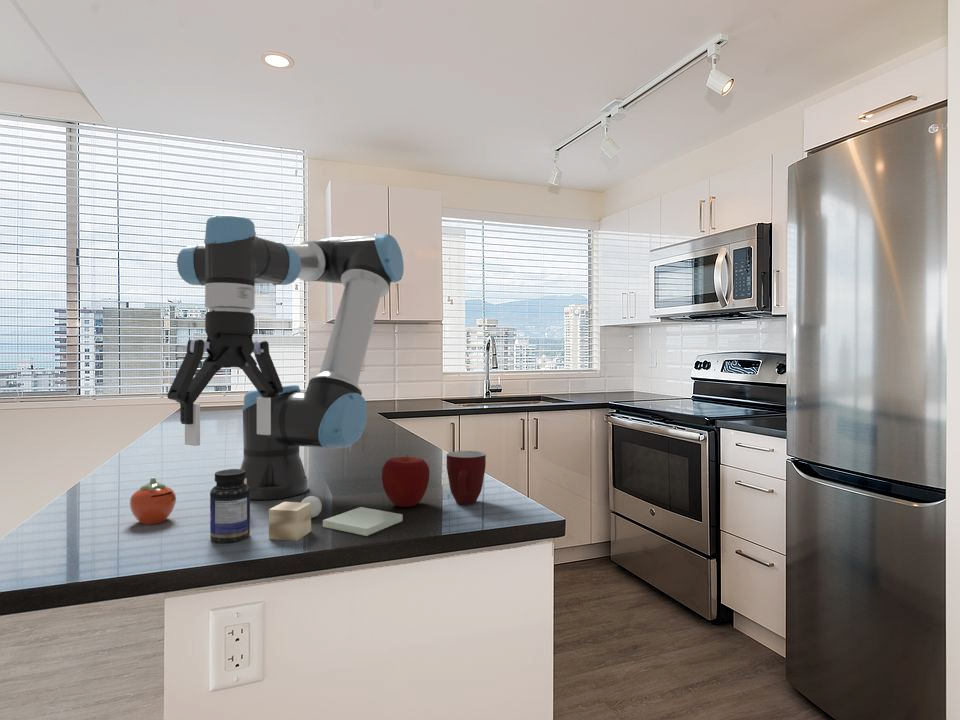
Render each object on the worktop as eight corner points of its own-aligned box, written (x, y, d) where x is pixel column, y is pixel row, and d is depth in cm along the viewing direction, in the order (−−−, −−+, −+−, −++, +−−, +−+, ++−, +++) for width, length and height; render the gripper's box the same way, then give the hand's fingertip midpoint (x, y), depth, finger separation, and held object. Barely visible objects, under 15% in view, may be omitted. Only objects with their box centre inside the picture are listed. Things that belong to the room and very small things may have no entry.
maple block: (269, 539, 96) (268, 509, 95) (284, 530, 100) (284, 501, 100) (297, 541, 95) (297, 510, 95) (310, 531, 100) (310, 503, 100)
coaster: (322, 526, 102) (322, 520, 102) (360, 513, 111) (360, 506, 111) (366, 535, 97) (366, 528, 97) (402, 520, 106) (402, 514, 106)
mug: (486, 511, 113) (486, 460, 113) (444, 511, 113) (445, 460, 112) (484, 497, 123) (485, 450, 123) (447, 497, 123) (447, 450, 123)
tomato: (145, 530, 100) (144, 484, 100) (120, 523, 104) (120, 479, 103) (185, 519, 106) (184, 476, 106) (160, 513, 110) (160, 471, 110)
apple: (431, 510, 113) (431, 459, 113) (381, 512, 111) (381, 461, 111) (427, 498, 122) (427, 451, 122) (381, 500, 121) (381, 452, 120)
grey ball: (294, 518, 107) (294, 497, 107) (310, 513, 110) (310, 492, 110) (310, 522, 105) (310, 500, 105) (326, 516, 108) (326, 495, 108)
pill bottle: (218, 532, 99) (218, 468, 99) (255, 531, 99) (254, 467, 99) (204, 544, 93) (203, 475, 93) (243, 543, 93) (243, 475, 93)
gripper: (172, 304, 83) (172, 452, 83) (303, 315, 105) (303, 432, 105) (141, 306, 86) (141, 447, 87) (274, 316, 108) (274, 429, 108)
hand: (230, 439), depth 96 cm, fingers open, 13 cm apart
